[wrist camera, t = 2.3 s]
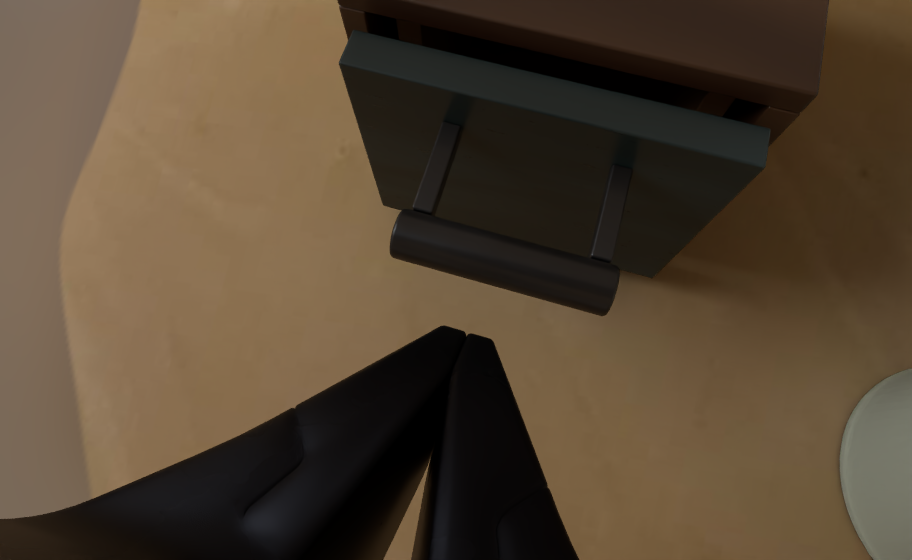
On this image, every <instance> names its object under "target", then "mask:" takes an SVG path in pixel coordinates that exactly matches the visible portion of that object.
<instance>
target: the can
mask: <svg viewBox="0 0 912 560" xmlns="http://www.w3.org/2000/svg"><path fill="white" fill-rule="evenodd" d="M840 477H841V486H842V492H843V496H844V500H845V504H846V507H847V510H848V513H849V516H850V519H851V521H852V523H853V525H854V527H855V530H856V532H857V534H858V536H859V538H860V540H861V541H862V543H863V545H864V546H865V548H866V550H867V551H868V553H869V554H870V556H871V557H872V558H873V560H912V368H911V369H907V370H904V371H901V372H898V373H896V374H894V375H892V376H890V377H888V378H886V379H884V380H882V381H881V382H880V383H878V384H877V385H876V386H874V387H873V388H872V389H871V390H870V391H869V392H868V393H867V394H866V395H865V396H864V397H863V398H862V399H861V400H860V401H859V403H858V404H857V406H856V407H855V409H854V410H853V412H852V414H851V416H850V418H849V420H848V422H847V425H846V428H845V431H844V434H843V438H842V444H841V449H840Z"/></svg>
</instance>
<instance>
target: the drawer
mask: <svg viewBox="0 0 912 560" xmlns="http://www.w3.org/2000/svg"><path fill="white" fill-rule="evenodd" d="M396 23H397V30H398V36H399V40H396V39H392V38H388V37H383V36H379V35H375V34H371V33H367V32H362V31H358V30H353V31H352V34H351V36H350V38H349V40H348V43H347V45H346V47H345V50H344V52H343V54H342V56H341V59H340V61H339V65H340V69H341V72H342V75H343V78H344V81H345V85H346V88H347V91H348V94H349V98H350V101H351V104H352V107H353V110H354V114H355V117H356V120H357V123H358V126H359V130H360V133H361V136H362V139H363V142H364V146H365V149H366V152H367V155H368V159H369V162H370V165H371V168H372V171H373V175H374V178H375V181H376V184H377V187H378V191H379V194H380V197H381V200H382V203H383V205H384V206H387V207H391V208H395V209H398V210H402V211H401V212H400V214H399V215H398V217H397V219H396V222H395V224H394V227H393V231H392V235H391V240H390V255H391V256H392V257H393V258H396V259H399V260H403V261H406V262H410V263H413V264H417V265H421V266H424V267H428V268H431V269H435V270H438V271H442V272H446V273H449V274H453V275H456V276H460V277H463V278H467V279H471V280H474V281H478V282H481V283H485V284H488V285H492V286H496V287H499V288H503V289H506V290H510V291H514V292H517V293H521V294H524V295H528V296H531V297H535V298H539V299H542V300H546V301H549V302H553V303H556V304H560V305H564V306H567V307H571V308H574V309H578V310H581V311H585V312H589V313H592V314H596V315H599V316H605V315H606V314H607V313H608V311H609V310H610V308H611V306H612V303H613V301H614V298H615V295H616V291H617V287H618V283H619V277H620V270H619V269H621V270H624V271H628V272H632V273H635V274H639V275H643V276H646V277H650V278H653V277H654V276H655V275H656V274H657V273H658V272H659V271H660V270H661V269H662V268H663V267H664V266H665V265H666V264H667V263H668V262H669V261H670V260H671V259H672V258H673V257H674V256H675V255H676V254H677V253H678V252H679V251H680V250H682V249H683V248H684V247H685V246H686V245H687V244H688V243H689V242H690V241H691V240H692V239H693V238H694V237H695V236H696V235H697V234H698V233H699V232H700V231H701V230H702V229H703V228H704V227H705V226H706V225H707V224H708V223H709V222H710V221H711V220H712V219H713V218H714V217H715V216H716V215H717V214H718V213H719V212H720V211H721V210H722V209H723V208H724V207H725V206H726V205H727V204H728V203H729V202H730V201H731V200H732V199H734V198H735V197H736V196H737V195H738V194H739V193H740V192H741V191H742V190H743V189H744V188H745V187H746V186H747V185H748V184H749V183H750V182H751V181H752V180H753V179H754V178H755V177H756V176H757V175H758V174H759V173H760V172H761V171H762V170H763V169H764V168H765V166H766V159H767V152H768V145H769V138H770V131H771V130H770V129H769V128H766V127H762V126H758V125H753V124H749V123H745V122H741V121H737V120H732V119H728V118H724V117H723V115H724V114H725V113H726V111H727V110H728V109H729V107H730V106H731V105H732V103H733V102H734V101H735V99H736V98H733V97H729V96H724V95H720V94H716V93H711V92H707V91H703V90H699V89H694V88H690V87H686V86H682V85H677V84H673V83H669V82H664V81H660V80H656V79H652V78H647V77H643V76H639V75H634V74H630V73H626V72H622V71H617V70H613V69H609V68H605V67H600V66H596V65H592V64H587V63H583V62H579V61H575V60H570V59H566V58H562V57H557V56H553V55H549V54H545V53H540V52H536V51H532V50H528V49H523V48H519V47H515V46H510V45H506V44H502V43H498V42H493V41H489V40H485V39H480V38H476V37H472V36H468V35H463V34H459V33H455V32H451V31H446V30H442V29H438V28H433V27H429V26H425V25H421V24H416V23H412V22H408V21H403V20H399V19H396Z"/></svg>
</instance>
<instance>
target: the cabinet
mask: <svg viewBox="0 0 912 560" xmlns="http://www.w3.org/2000/svg"><path fill="white" fill-rule="evenodd" d="M338 4H339V5H340V6H339V8H340V12H341V16H342V19H343V23H344V27H345V30H346V34H347V38H348V40H349V38H350V36H351V34H352V31H353V30H358V31H362V32H367V33H371V34H375V35H379V36H383V37H388V38H392V39H396V40H399V36H398V30H397V23H396V19H399V20H403V21H408V22H412V23H416V24H421V25H425V26H429V27H433V28H438V29H442V30H446V31H451V32H455V33H459V34H463V35H468V36H472V37H476V38H480V39H485V40H489V41H493V42H498V43H502V44H506V45H510V46H515V47H519V48H523V49H528V50H532V51H536V52H540V53H545V54H549V55H553V56H557V57H562V58H566V59H570V60H575V61H579V62H583V63H587V64H592V65H596V66H600V67H605V68H609V69H613V70H617V71H622V72H626V73H630V74H634V75H639V76H643V77H647V78H652V79H656V80H660V81H664V82H669V83H673V84H677V85H682V86H686V87H690V88H694V89H699V90H703V91H707V92H711V93H716V94H720V95H724V96H729V97H733V98H736V99H735V101H734V102H733V103H732V105H731V106H730V107H729V109H728V110H727V111H726V113H725V114H724V115H723V117H724V118H728V119H732V120H737V121H741V122H745V123H749V124H753V125H758V126H762V127H766V128H769V129H770V130H771V131H770V138H769V145H768V147H769V146H770V145H771V144H772V143H773V142H774V141H775V140H776V139H777V138H778V137H779V135H780V134H781V133H782V132H783V131H784V130H785V129H786V128H787V127H788V126H789V125H790V124H791V123H792V122H793V121H794V120H795V119H796V118H797V117H798V116H799V114H800V112H802V111H803V110H804V109H805V108H806V107H807V106H808V105H809V104H810V102H811V101H812V100H813V99H814V98H815V97H816V96H817V95H818V90H819V81H820V73H821V64H822V56H823V47H824V38H825V30H826V21H827V13H828V4H829V0H338Z"/></svg>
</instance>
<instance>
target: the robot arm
mask: <svg viewBox="0 0 912 560" xmlns="http://www.w3.org/2000/svg"><path fill="white" fill-rule="evenodd" d="M430 458H431V459H430ZM429 460H430V463H429ZM428 463H429V467H428V472H427V477H426V481H425V487H424V492H423V498H422V503H421V509H420V514H419V520H418V525H417V531H416V536H415V542H414V547H413V552H412V558H411V560H579V558H578V556H577V554H576V552H575V550H574V548H573V546H572V544H571V541H570V539H569V537H568V534H567V532H566V530H565V527H564V525H563V522H562V520H561V518H560V515H559V513H558V510H557V508H556V505H555V502H554V500H553V497H552V494H551V492H550V489H549V488H547V486H548V485H547V482H546V479H545V476H544V474H543V471H542V468H541V466H540V463H539V461H538V458H537V455H536V453H535V450H534V447H533V445H532V442H531V439H530V437H529V434H528V432H527V429H526V426H525V424H524V421H523V418H522V416H521V413H520V410H519V408H518V405H517V402H516V400H515V397H514V395H513V392H512V389H511V387H510V384H509V381H508V379H507V376H506V373H505V371H504V368H503V366H502V363H501V360H500V358H499V355H498V352H497V350H496V347H495V344H494V342H493V341H492V340H491V339H489V338H486V337H482V336H479V335H475V334H468V335H467V336H466V333H465V332H464V331H461V330H458V329H455V328H451V327H448V326H440V327H438V328H436V329H435V330H433V331H431V332H429V333H427V334H425V335H424V336H422V337H420V338H418V339H416V340H415V341H413V342H411V343H409V344H407V345H405V346H404V347H402V348H400V349H398V350H396V351H395V352H393V353H391V354H389V355H387V356H385V357H384V358H382V359H380V360H378V361H376V362H375V363H373V364H371V365H369V366H367V367H365V368H364V369H362V370H360V371H358V372H356V373H355V374H353V375H351V376H349V377H347V378H346V379H344V380H342V381H340V382H338V383H336V384H335V385H333V386H331V387H329V388H327V389H326V390H324V391H322V392H320V393H318V394H316V395H315V396H313V397H311V398H309V399H307V400H306V401H304V402H302V403H300V404H298V405H297V406H296V407H295V408H291V409H289V410H287V411H285V412H283V413H281V414H280V415H278V416H276V417H274V418H272V419H270V420H269V421H267V422H265V423H263V424H261V425H259V426H257V427H255V428H253V429H251V430H249V431H247V432H245V433H243V434H241V435H239V436H237V437H235V438H233V439H231V440H228V441H226V442H224V443H222V444H220V445H217V446H215V447H213V448H211V449H208V450H206V451H204V452H202V453H200V454H197V455H195V456H193V457H190V458H188V459H186V460H183V461H181V462H179V463H176V464H174V465H171V466H169V467H167V468H164V469H162V470H160V471H157V472H155V473H153V474H150V475H148V476H146V477H143V478H141V479H139V480H136V481H134V482H132V483H129V484H127V485H124V486H122V487H120V488H117V489H115V490H113V491H110V492H108V493H106V494H103V495H101V496H99V497H96V498H94V499H91V500H89V501H86V502H83V503H81V504H78V505H76V506H72V507H69V508H66V509H63V510H59V511H56V512H52V513H47V514H43V515H38V516H32V517H24V518H15V519H0V560H383V559H384V557H385V555H386V553H387V551H388V548H389V546H390V544H391V542H392V540H393V538H394V536H395V534H396V532H397V530H398V528H399V525H400V523H401V521H402V519H403V517H404V515H405V513H406V511H407V509H408V507H409V505H410V502H411V500H412V498H413V496H414V494H415V492H416V490H417V488H418V486H419V484H420V482H421V479H422V477H423V475H424V473H425V470H426V468H427V466H428Z"/></svg>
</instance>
